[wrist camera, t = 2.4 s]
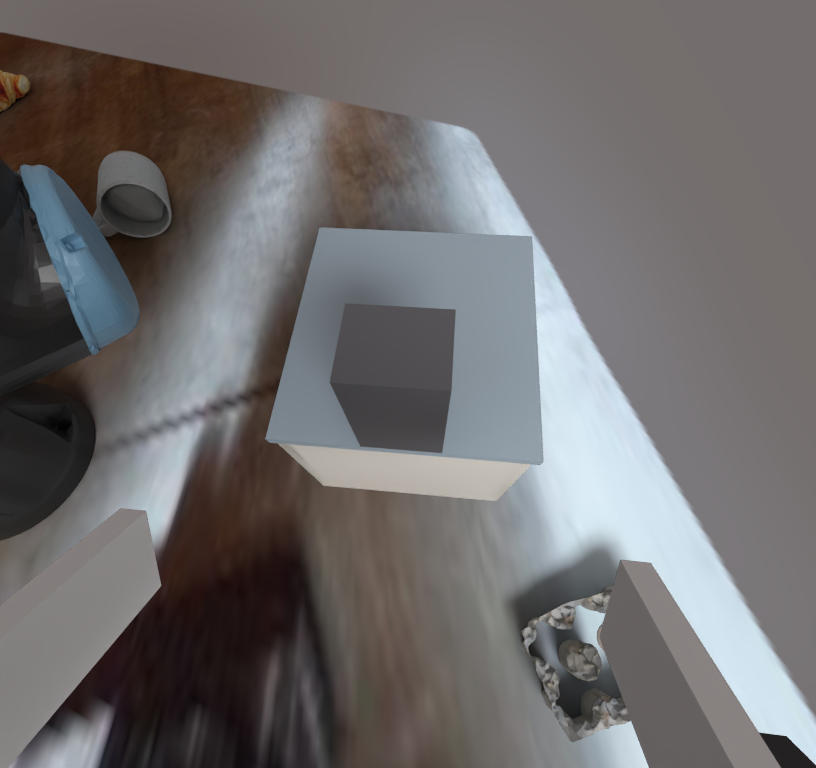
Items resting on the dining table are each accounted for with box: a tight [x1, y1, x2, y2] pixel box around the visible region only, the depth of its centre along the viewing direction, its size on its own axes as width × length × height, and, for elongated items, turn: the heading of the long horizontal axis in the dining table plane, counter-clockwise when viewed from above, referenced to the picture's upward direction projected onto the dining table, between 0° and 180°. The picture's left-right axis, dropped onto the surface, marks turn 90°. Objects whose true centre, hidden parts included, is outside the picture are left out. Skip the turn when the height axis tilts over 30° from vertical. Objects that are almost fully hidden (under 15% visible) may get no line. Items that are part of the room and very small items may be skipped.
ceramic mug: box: [93, 151, 172, 238], centre depth 50 cm, size 11×8×8 cm
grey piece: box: [521, 585, 631, 742], centre depth 30 cm, size 11×8×4 cm
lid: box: [266, 227, 543, 465], centre depth 25 cm, size 18×17×10 cm
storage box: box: [278, 443, 531, 501], centre depth 35 cm, size 18×16×13 cm
